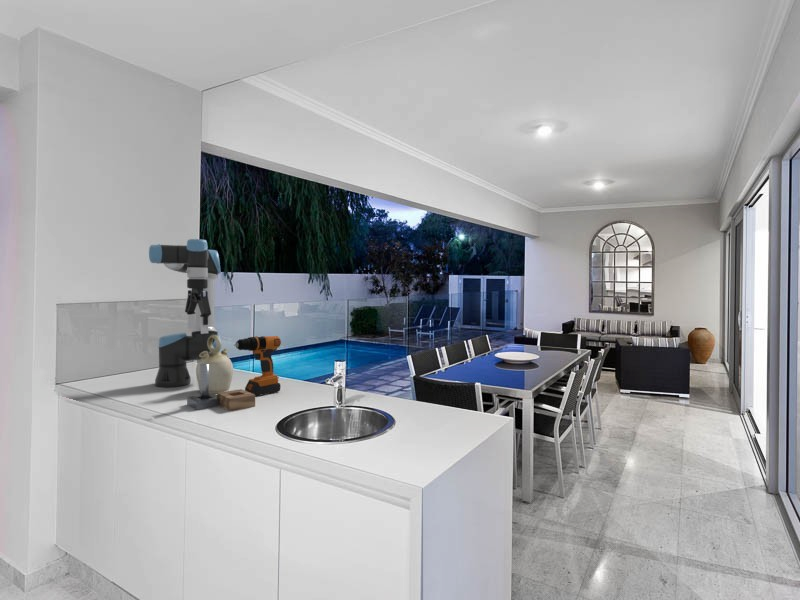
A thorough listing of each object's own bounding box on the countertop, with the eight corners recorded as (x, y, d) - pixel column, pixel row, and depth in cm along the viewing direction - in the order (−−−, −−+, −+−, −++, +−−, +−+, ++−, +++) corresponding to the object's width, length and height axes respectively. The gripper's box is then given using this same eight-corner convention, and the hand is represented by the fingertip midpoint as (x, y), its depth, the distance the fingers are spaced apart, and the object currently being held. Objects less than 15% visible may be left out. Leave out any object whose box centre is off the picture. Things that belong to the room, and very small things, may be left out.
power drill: (240, 399, 200) (239, 339, 199) (230, 396, 205) (230, 337, 204) (284, 391, 216) (284, 335, 215) (274, 388, 221) (274, 333, 220)
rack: (217, 405, 191) (217, 392, 191) (241, 401, 198) (241, 389, 198) (230, 412, 183) (230, 398, 182) (255, 407, 190) (255, 394, 189)
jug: (203, 397, 204) (203, 337, 203) (191, 390, 216) (190, 334, 215) (238, 391, 214) (238, 335, 213) (225, 385, 226) (224, 331, 225)
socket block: (187, 405, 190) (187, 397, 190) (212, 401, 197) (212, 393, 197) (196, 411, 183) (196, 402, 183) (222, 406, 190) (222, 397, 190)
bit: (199, 404, 190) (198, 364, 189) (207, 403, 192) (207, 363, 192) (202, 406, 188) (202, 365, 187) (210, 405, 190) (210, 364, 189)
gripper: (176, 278, 200) (176, 329, 201) (200, 278, 182) (200, 335, 183) (194, 278, 205) (195, 328, 206) (219, 278, 187) (220, 334, 188)
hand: (197, 331), depth 194 cm, fingers open, 13 cm apart
